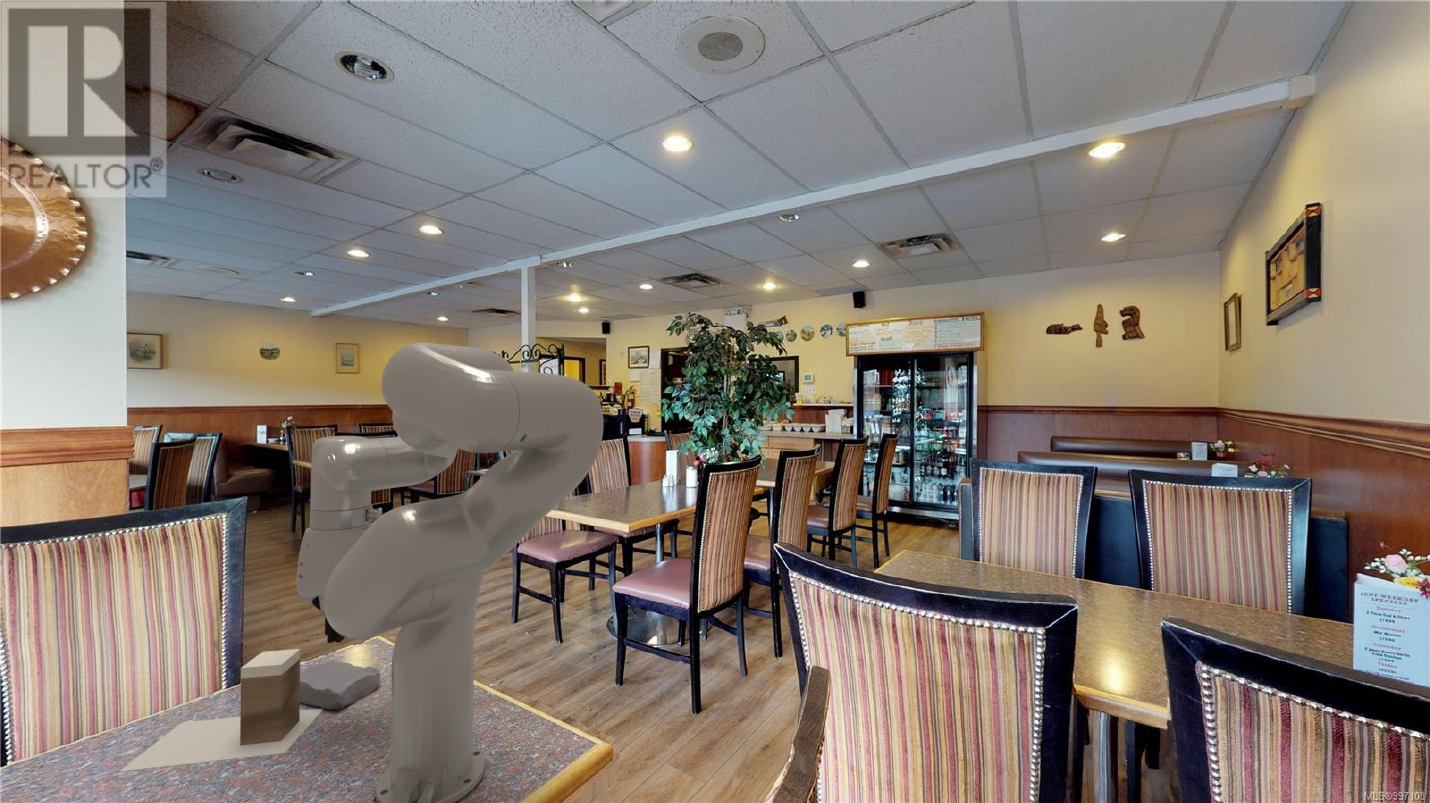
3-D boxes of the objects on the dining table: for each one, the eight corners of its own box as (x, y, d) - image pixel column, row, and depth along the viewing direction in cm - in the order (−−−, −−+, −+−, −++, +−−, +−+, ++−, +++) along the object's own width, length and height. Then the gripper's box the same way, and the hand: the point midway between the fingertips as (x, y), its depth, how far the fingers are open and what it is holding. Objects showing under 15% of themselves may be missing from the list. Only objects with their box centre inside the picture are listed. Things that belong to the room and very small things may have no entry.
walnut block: (280, 740, 77) (281, 664, 77) (240, 745, 76) (240, 667, 76) (299, 720, 82) (300, 648, 82) (261, 724, 81) (262, 651, 81)
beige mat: (284, 755, 75) (284, 752, 75) (119, 774, 71) (119, 771, 71) (324, 710, 86) (324, 708, 86) (182, 724, 81) (182, 722, 81)
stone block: (335, 685, 96) (277, 700, 87) (342, 656, 97) (286, 668, 88) (387, 698, 93) (332, 716, 83) (393, 668, 94) (340, 682, 84)
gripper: (404, 511, 86) (401, 625, 87) (298, 513, 83) (295, 631, 83) (386, 523, 79) (383, 646, 79) (269, 525, 76) (266, 654, 76)
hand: (338, 638), depth 81 cm, fingers closed
